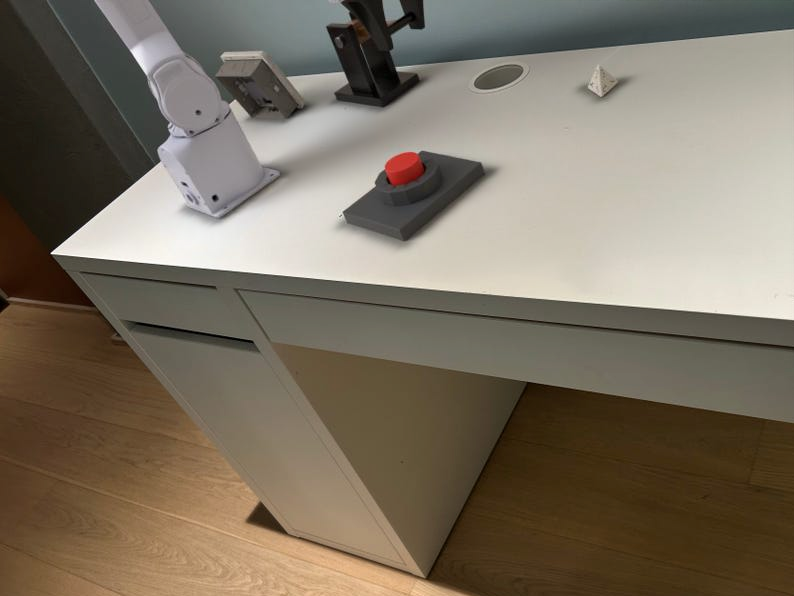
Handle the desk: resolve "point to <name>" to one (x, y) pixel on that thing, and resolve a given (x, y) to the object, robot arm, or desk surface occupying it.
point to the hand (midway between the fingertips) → (402, 38)
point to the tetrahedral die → (601, 82)
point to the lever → (392, 25)
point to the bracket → (367, 69)
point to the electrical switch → (258, 84)
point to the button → (404, 168)
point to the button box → (413, 196)
